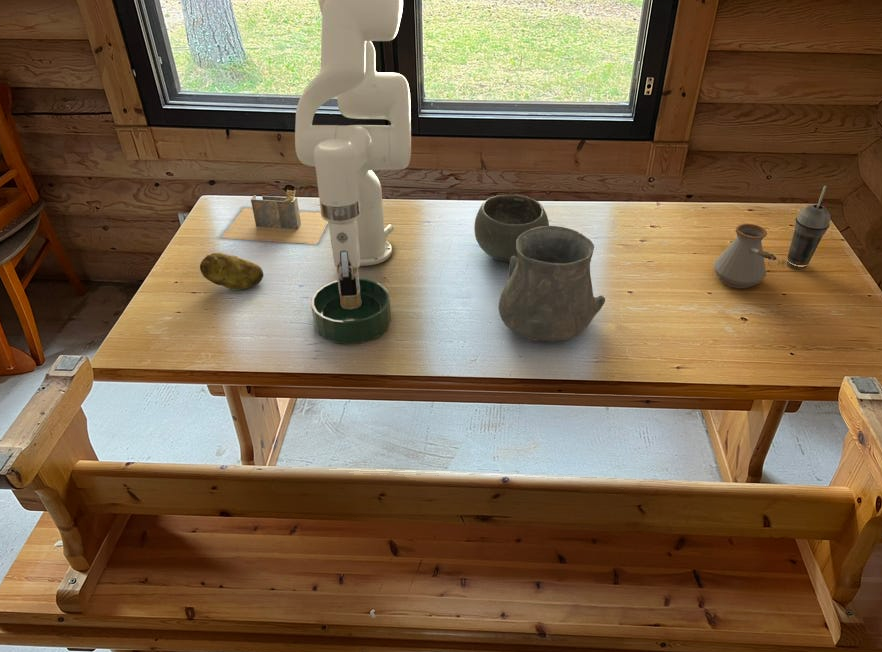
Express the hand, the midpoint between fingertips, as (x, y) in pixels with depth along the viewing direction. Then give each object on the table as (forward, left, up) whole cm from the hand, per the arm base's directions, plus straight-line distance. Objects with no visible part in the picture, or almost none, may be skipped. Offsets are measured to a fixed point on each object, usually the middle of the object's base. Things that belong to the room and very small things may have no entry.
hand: (349, 287), depth 142 cm
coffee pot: (-54, +70, -9) cm, 89 cm away
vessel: (-20, +37, -9) cm, 43 cm away
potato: (+2, -32, -9) cm, 33 cm away
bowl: (-42, +17, -9) cm, 46 cm away
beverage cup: (-72, +79, -9) cm, 107 cm away
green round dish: (0, 0, -9) cm, 9 cm away
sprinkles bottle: (0, 0, -5) cm, 5 cm away
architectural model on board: (-25, -42, -9) cm, 50 cm away
